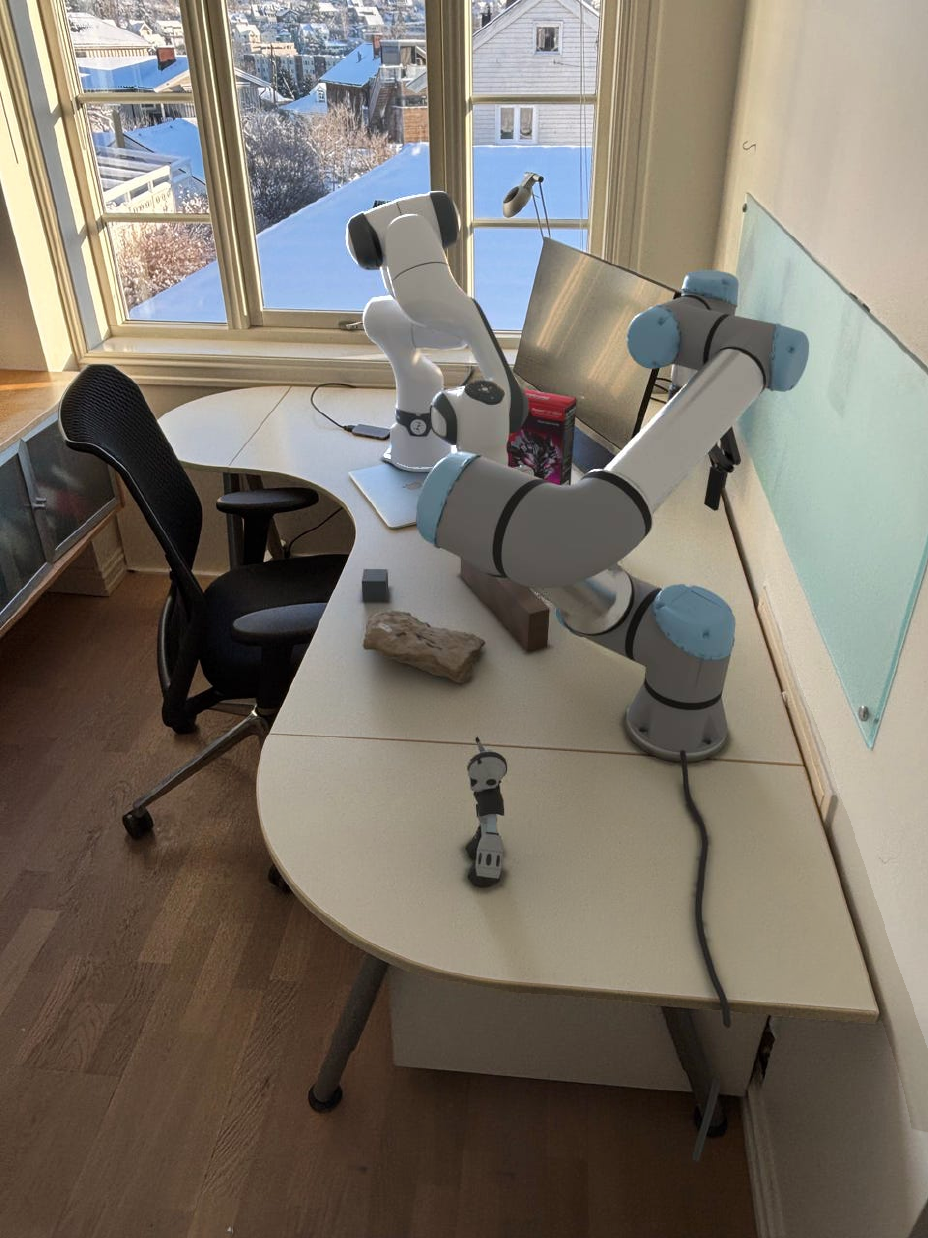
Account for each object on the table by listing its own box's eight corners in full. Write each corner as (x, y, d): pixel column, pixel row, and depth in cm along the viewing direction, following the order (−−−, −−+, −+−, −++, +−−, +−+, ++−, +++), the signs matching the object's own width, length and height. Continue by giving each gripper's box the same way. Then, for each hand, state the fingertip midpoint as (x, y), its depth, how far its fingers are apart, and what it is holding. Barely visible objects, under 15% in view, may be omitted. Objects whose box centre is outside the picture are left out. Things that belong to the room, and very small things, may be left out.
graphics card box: (486, 512, 203) (488, 393, 188) (499, 500, 208) (503, 382, 193) (557, 530, 197) (566, 407, 181) (570, 517, 202) (579, 396, 187)
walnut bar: (547, 646, 161) (550, 608, 157) (527, 652, 160) (529, 614, 156) (478, 571, 182) (479, 536, 178) (460, 576, 181) (460, 540, 177)
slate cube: (386, 601, 173) (385, 581, 171) (362, 601, 173) (361, 581, 171) (388, 589, 177) (387, 568, 174) (365, 588, 177) (363, 568, 174)
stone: (339, 657, 153) (345, 625, 150) (371, 626, 166) (378, 596, 164) (457, 699, 149) (466, 667, 147) (481, 664, 163) (489, 634, 160)
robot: (509, 924, 113) (515, 806, 101) (469, 925, 112) (471, 808, 101) (496, 807, 129) (501, 695, 118) (462, 808, 129) (463, 696, 118)
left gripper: (525, 456, 172) (522, 522, 179) (424, 476, 164) (426, 544, 172) (542, 470, 167) (538, 536, 175) (439, 491, 160) (439, 560, 168)
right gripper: (747, 365, 141) (724, 491, 153) (608, 387, 132) (595, 519, 144) (781, 380, 135) (754, 510, 147) (638, 405, 126) (622, 540, 138)
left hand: (481, 540), depth 173 cm, fingers open, 8 cm apart
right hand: (676, 515), depth 146 cm, fingers open, 13 cm apart
